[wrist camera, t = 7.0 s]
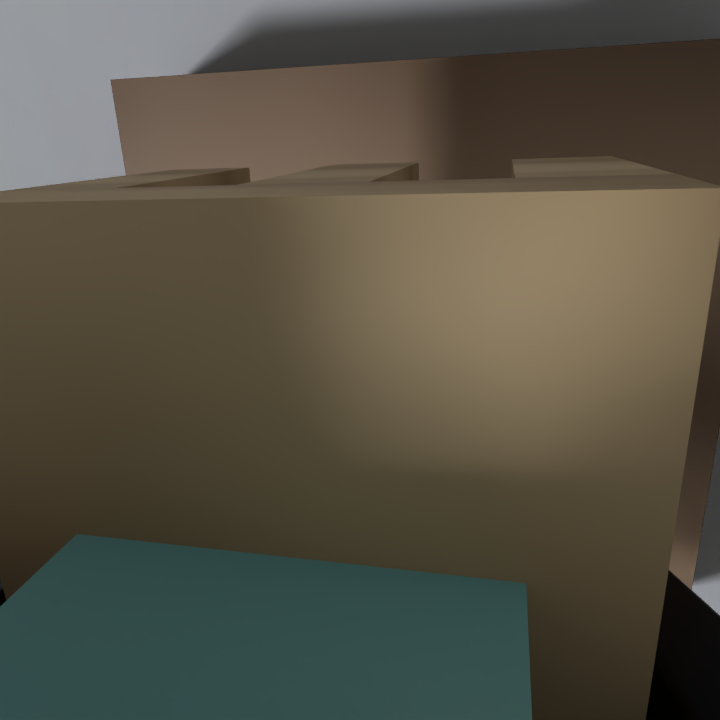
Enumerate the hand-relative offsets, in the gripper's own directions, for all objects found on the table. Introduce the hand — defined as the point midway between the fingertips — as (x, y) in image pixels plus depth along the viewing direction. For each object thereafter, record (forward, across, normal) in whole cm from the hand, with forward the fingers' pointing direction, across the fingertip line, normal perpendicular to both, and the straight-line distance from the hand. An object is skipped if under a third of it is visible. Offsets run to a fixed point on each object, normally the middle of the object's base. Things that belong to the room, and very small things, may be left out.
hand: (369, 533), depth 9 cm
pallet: (+1, 0, 0) cm, 1 cm away
